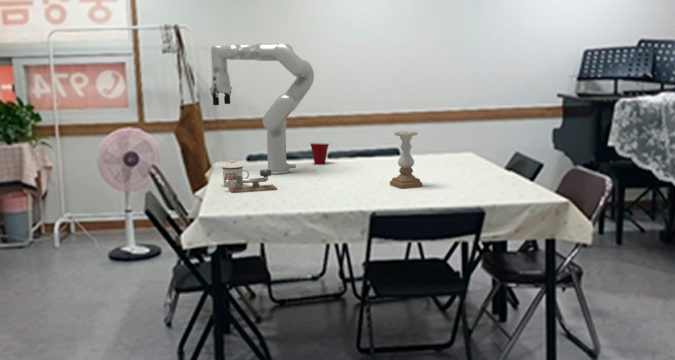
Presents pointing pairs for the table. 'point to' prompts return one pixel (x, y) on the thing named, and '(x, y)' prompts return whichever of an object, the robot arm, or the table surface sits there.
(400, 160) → the candle holder
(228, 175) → the teacup with lid
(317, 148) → the plastic cup
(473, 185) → the table surface
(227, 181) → the hook rod
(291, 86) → the robot arm
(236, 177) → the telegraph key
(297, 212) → the table surface
